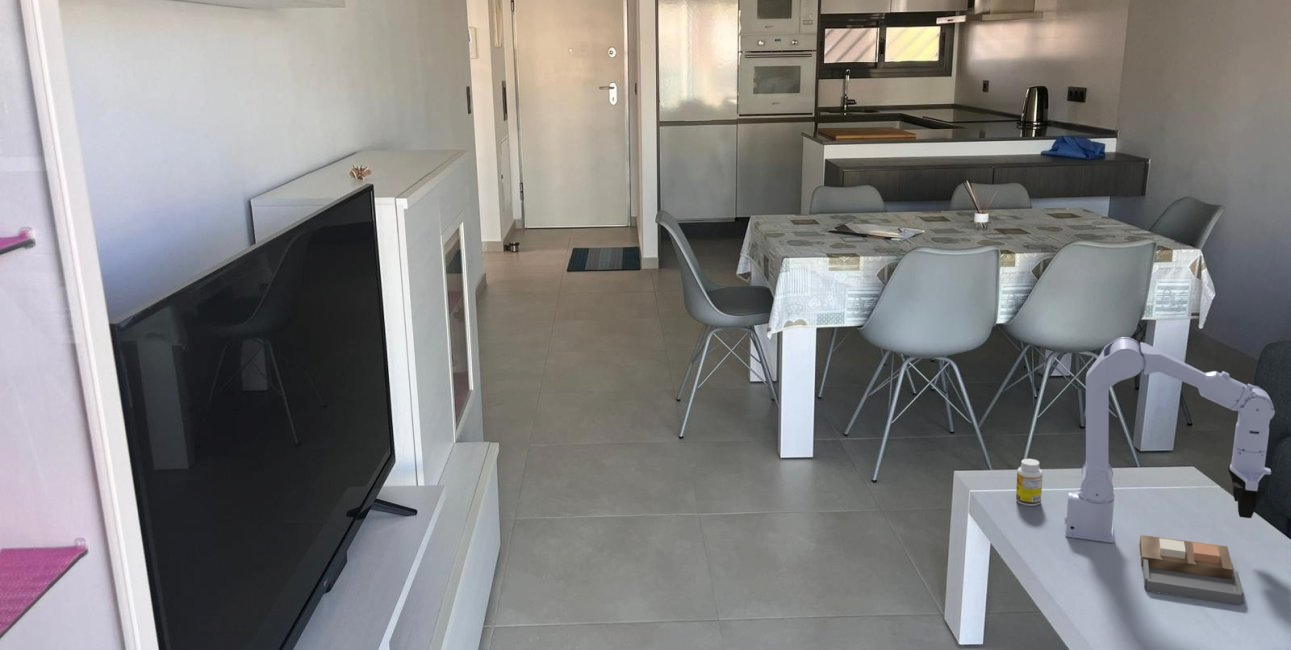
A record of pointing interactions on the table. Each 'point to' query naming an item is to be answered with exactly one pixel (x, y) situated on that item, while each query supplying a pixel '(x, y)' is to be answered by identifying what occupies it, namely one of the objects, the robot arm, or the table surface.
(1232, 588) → the box
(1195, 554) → the tile terracotta
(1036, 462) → the supplement bottle
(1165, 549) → the tile cream
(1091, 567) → the table surface
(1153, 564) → the plate
